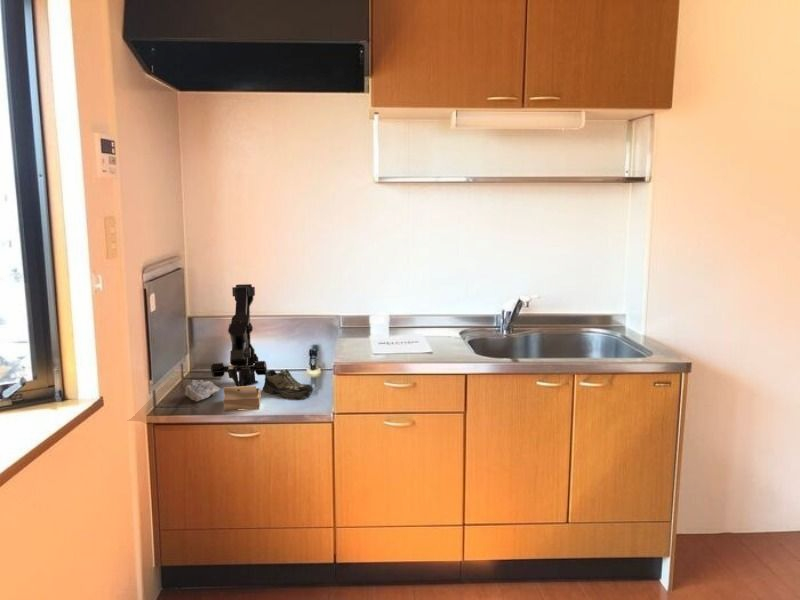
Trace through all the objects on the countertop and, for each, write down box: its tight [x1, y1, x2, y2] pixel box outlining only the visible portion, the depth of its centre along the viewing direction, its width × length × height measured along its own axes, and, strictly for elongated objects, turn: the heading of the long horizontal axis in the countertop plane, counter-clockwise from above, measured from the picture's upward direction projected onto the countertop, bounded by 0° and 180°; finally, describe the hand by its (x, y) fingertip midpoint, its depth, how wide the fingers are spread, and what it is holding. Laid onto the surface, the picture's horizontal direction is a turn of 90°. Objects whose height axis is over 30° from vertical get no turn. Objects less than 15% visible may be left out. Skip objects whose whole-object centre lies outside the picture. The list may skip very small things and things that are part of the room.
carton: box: [223, 387, 262, 411], centre depth 242 cm, size 12×12×4 cm
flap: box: [223, 385, 257, 400], centre depth 233 cm, size 6×11×1 cm
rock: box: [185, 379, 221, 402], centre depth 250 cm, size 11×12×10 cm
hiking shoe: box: [262, 369, 314, 400], centre depth 253 cm, size 8×21×9 cm, turn 65°
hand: (238, 390), depth 232 cm, fingers closed, pressing on flap
